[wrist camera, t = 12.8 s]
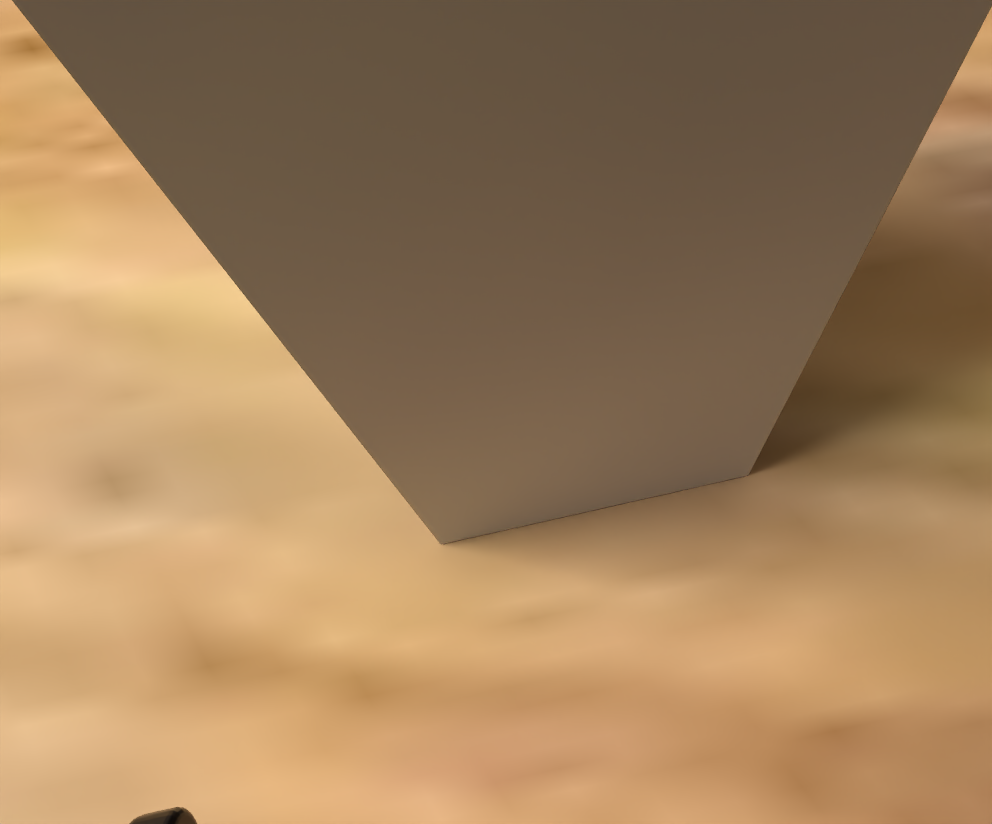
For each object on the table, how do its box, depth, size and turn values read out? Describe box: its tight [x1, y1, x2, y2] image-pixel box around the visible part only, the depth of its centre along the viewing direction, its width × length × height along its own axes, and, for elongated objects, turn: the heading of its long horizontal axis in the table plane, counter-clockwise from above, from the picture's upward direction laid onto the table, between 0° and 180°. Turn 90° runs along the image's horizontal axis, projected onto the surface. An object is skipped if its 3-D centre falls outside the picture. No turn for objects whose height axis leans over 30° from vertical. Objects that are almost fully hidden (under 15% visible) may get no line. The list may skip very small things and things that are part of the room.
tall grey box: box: [12, 0, 992, 544], centre depth 12 cm, size 7×7×16 cm
